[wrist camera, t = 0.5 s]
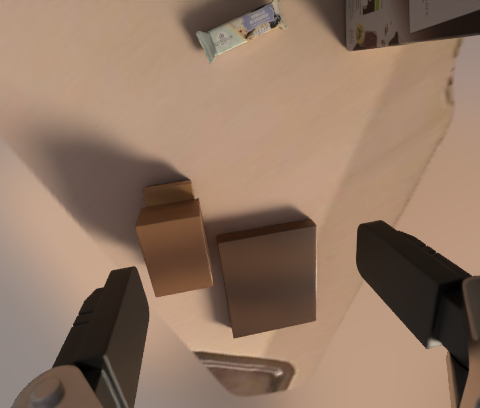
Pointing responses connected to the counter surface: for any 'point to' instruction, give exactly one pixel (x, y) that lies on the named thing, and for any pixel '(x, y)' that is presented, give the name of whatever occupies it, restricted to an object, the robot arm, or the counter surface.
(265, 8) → the granola bar
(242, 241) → the board
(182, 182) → the stepped wooden block
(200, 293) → the counter surface
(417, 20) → the coffee box
